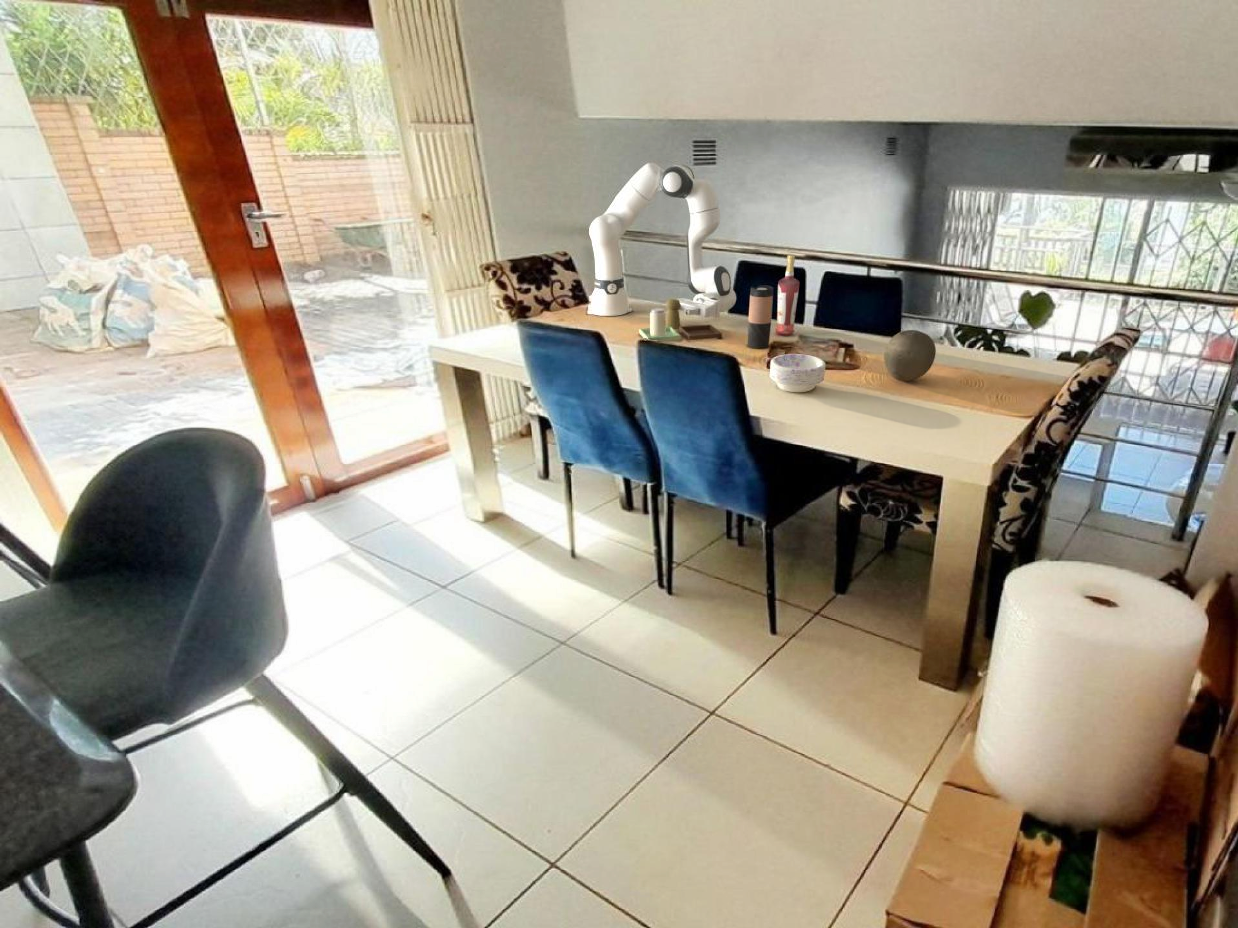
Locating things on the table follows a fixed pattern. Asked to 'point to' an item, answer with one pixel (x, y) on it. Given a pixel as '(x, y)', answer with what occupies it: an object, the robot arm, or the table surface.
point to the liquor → (787, 300)
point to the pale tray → (669, 335)
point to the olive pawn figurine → (673, 314)
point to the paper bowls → (797, 372)
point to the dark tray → (700, 332)
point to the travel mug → (760, 316)
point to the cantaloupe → (909, 355)
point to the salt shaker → (657, 322)
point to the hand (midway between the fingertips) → (678, 310)
